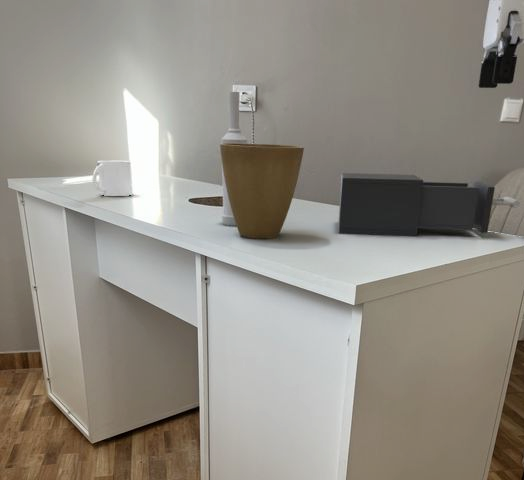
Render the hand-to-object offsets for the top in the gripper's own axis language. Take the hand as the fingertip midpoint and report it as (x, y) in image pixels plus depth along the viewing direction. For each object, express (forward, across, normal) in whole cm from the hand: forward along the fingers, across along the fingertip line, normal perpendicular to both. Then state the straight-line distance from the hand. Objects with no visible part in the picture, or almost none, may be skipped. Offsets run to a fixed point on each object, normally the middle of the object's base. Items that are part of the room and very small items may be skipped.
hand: (494, 85), depth 97 cm
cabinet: (+26, +4, +18) cm, 32 cm away
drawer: (+25, +4, +2) cm, 26 cm away
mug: (+26, +47, +90) cm, 105 cm away
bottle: (+26, +4, +47) cm, 54 cm away
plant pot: (+26, -8, +40) cm, 49 cm away
